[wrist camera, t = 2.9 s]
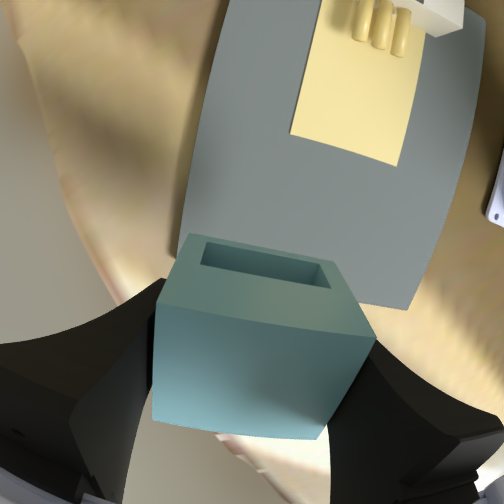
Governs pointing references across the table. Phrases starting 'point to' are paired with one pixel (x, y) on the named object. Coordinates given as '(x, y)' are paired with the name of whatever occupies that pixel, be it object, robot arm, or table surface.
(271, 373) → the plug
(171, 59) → the table surface
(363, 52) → the mat
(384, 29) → the header
